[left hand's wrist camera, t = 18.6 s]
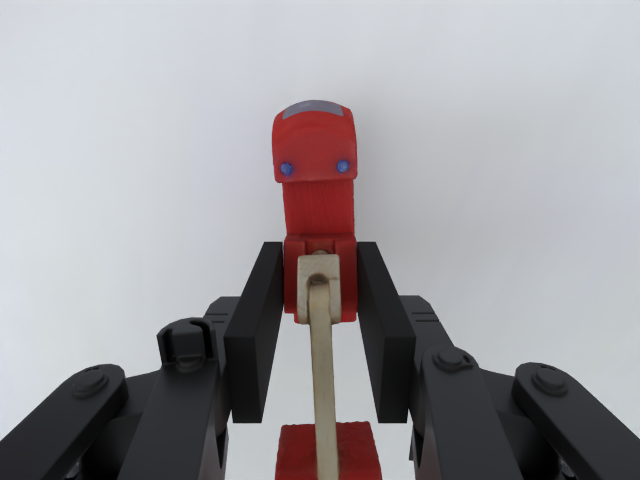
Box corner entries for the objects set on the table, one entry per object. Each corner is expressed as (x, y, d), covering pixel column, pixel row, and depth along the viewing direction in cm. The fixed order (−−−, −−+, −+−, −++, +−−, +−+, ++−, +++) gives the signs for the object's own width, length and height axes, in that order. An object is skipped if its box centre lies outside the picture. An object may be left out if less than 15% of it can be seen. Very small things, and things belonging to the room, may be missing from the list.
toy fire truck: (350, 100, 15) (393, 80, 6) (354, 352, 20) (382, 548, 11) (276, 103, 16) (213, 90, 6) (297, 355, 20) (278, 551, 11)
